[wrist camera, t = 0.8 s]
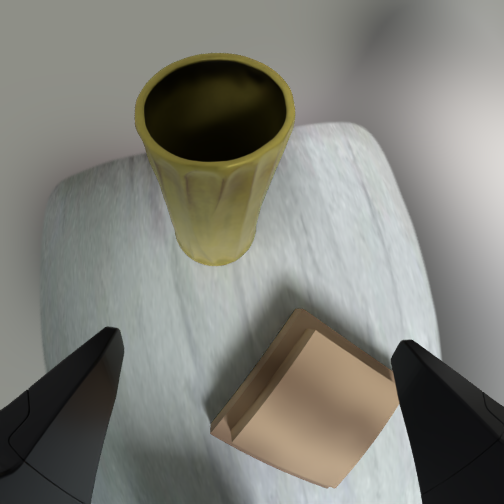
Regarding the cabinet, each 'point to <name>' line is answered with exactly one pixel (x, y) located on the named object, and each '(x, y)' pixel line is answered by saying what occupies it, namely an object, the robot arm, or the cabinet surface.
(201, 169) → the vase
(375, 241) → the cabinet surface
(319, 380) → the pedestal
